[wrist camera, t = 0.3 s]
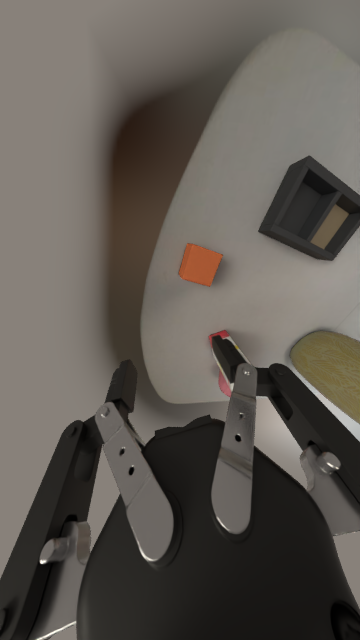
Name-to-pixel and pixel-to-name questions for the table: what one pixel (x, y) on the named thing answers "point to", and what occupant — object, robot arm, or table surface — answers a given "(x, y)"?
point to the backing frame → (313, 211)
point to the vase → (331, 368)
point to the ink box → (226, 336)
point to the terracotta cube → (199, 264)
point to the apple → (224, 385)
